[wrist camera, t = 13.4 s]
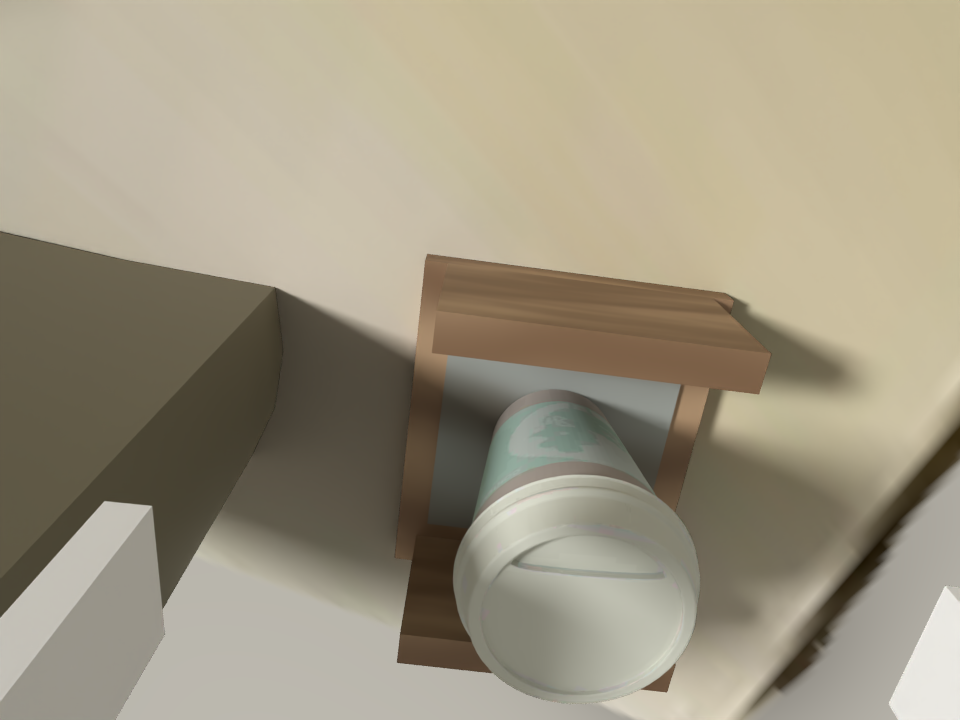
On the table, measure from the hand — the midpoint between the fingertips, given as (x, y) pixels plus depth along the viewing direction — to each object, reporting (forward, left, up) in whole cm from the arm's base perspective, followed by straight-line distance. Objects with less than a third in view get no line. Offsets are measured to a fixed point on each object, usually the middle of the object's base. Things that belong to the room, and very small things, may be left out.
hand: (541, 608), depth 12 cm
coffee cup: (+8, +3, -21) cm, 22 cm away
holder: (+8, +3, -22) cm, 23 cm away
